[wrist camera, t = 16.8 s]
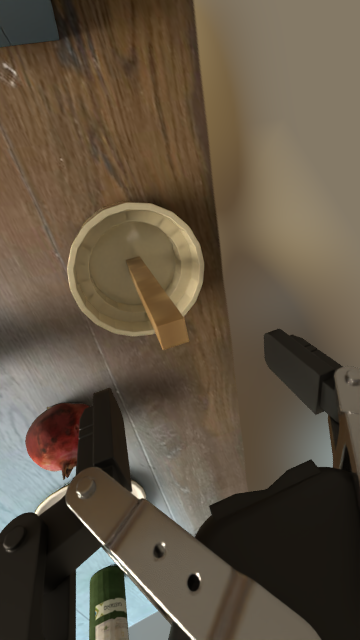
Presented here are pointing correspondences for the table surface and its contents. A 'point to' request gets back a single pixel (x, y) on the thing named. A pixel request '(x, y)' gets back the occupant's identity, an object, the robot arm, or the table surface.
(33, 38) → the holder
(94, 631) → the wine bottle
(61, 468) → the fruit
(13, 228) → the table surface
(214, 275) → the table surface
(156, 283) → the stick
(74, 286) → the bowl
